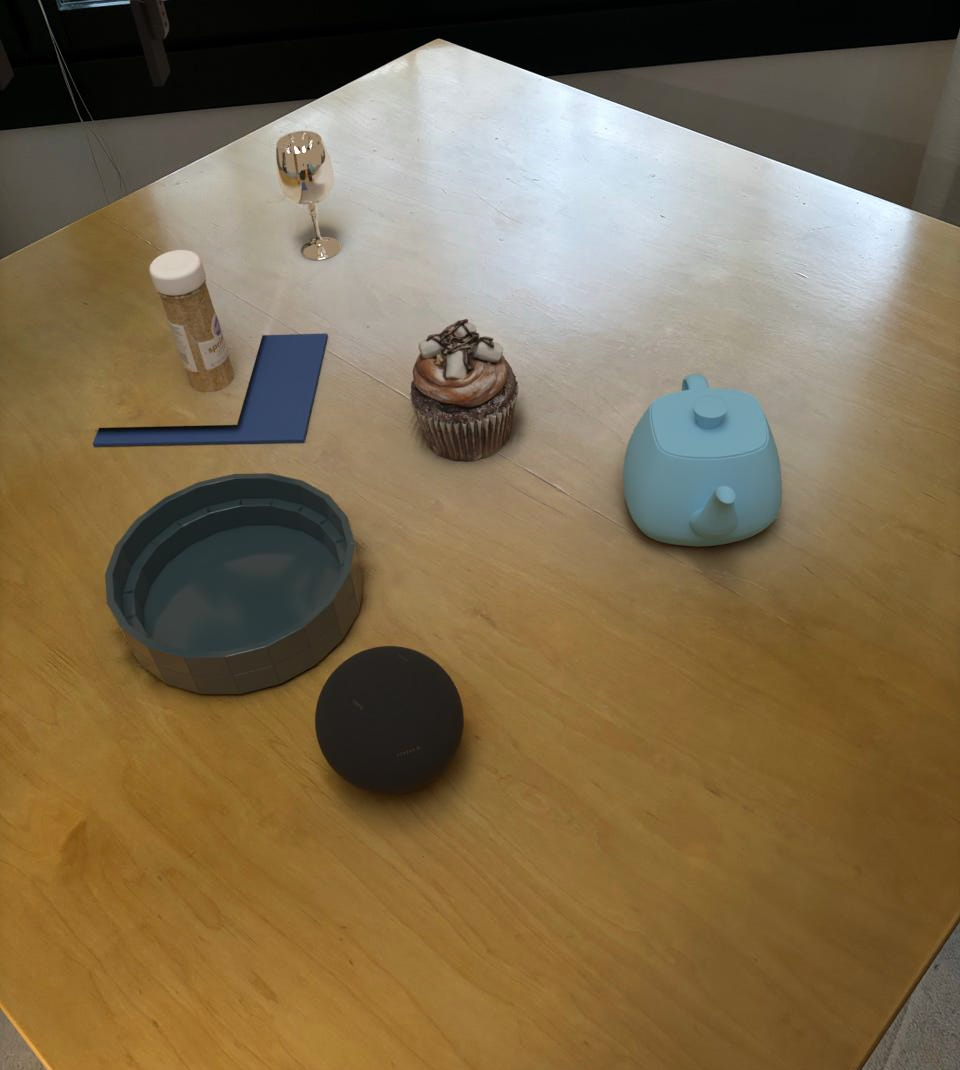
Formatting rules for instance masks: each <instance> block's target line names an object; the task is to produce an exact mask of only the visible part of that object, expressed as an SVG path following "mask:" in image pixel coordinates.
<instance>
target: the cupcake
mask: <svg viewBox="0 0 960 1070" xmlns="http://www.w3.org/2000/svg"><path fill="white" fill-rule="evenodd" d="M418 350H419V355H418V356H417V358H416V361H415V363H414V365H413V368H412V381H411V382H410V393H409V396H410V397H409V399H410V405H411V407H412V409H413V412H414V414H415V416H416V418H417V421H418V423H419V425H420V428H421V431H422V434H423V436H424V438H425V441H426V443H427V445H428V447H429V449H430V450H432V451H433V452H435V453H436V455H438V456H439V457H442V458H443V459H447V460H451V461H454V462H472V461H473V462H474V461H479V460H481V459H484V458H488V457H491V456H493V455H495V454H496V453H497V452H499V451H500V450H501V449H502V447H503V446H505V445H506V443H507V442H508V441H509V439H510V435H511V432H512V423H513V417H514V410H515V406H516V402H517V399H518V395H519V387H520V386H519V381H518V380H516V377H517V376H516V375H515V373H514V370H513V368H512V367H511V365H510V364H509V362H508V360H506V357H505V356H504V355H503V354H504V347H503V345H502V344H501V343H498V342H495V341H494V338H492V337H491V336H487V335H486V336H480V333H479V332H477V326H475V324H474V323H473V322H469V319H468V318H465V319H462V320H459V319H458V320H457V321H455V322H454V323H451V324H450V325H448V326H446V327H445V328H444V329H443V330H442V331H441V332H440V333H434V334H433V333H432V334H429V335H428V336H427V338H426V339H424V340H421V341H419V342H418Z"/></svg>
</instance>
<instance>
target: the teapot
mask: <svg viewBox="0 0 960 1070" xmlns="http://www.w3.org/2000/svg"><path fill="white" fill-rule="evenodd" d="M630 435H631V436H630V437H629V440H628V443H627V446H626V450H625V454H624V459H623V469H622V490H623V495H624V498H625V501H626V505H627V509H628V511H629V514H630V516H631V518H632V520H633V522H634V524H635V525H636V526H637V527H638V528H639V530H640V531H641V532H642V533H643V534H644V535H645V536H646V537H648V538H650V539H652V540H654V541H657V542H660V543H664V544H669V545H677V546H683V547H684V546H686V547H712V546H722V545H727V544H732V543H736V542H740V541H743V540H747V539H750V538H752V537H754V536H755V535H757V534H759V533H762V532H763V531H764V530H766V529H767V528H768V527H769V526H771V524H772V523H773V522H774V521H775V519H776V518H777V517H778V515H779V514H780V509H781V505H782V497H783V491H782V490H783V488H782V487H783V486H782V485H783V483H782V469H781V462H780V456H779V452H778V447H777V444H776V440H775V438H774V435H773V432H772V429H771V426H770V424H769V421H768V419H767V417H766V414H765V412H764V410H763V408H762V405H761V403H760V402H759V400H758V399H757V398H756V397H755V396H754V395H752V394H750V393H748V392H746V391H743V390H738V389H733V388H719V387H710V386H709V382H708V379H707V377H706V376H705V375H703V374H701V373H692V374H688V375H686V376H684V377H683V379H682V381H681V390H679V391H675V392H671V393H667V394H664V395H661V396H659V397H657V398H656V399H654V400H653V401H652V402H651V403H650V404H649V406H648V407H647V408H646V410H645V411H644V413H643V414H642V416H641V417H640V419H639V420H638V422H637V423H636V425H635V427H634V429H633V431H632V433H631V434H630Z"/></svg>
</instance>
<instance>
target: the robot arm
mask: <svg viewBox="0 0 960 1070" xmlns="http://www.w3.org/2000/svg"><path fill="white" fill-rule="evenodd" d="M129 5H130V8H131V12H132V15H133V18H134V22H135V26H136V29H137V33H138V36H139V40H140V43H141V47H142V50H143V54H144V59H145V61H146V65H147V68H148V72H149V75H150V79H151V82H152V85H153V87H154V88H162V87H164V85H165V84H166V81H167V79H168V77H169V75H170V73H171V68H170V64H169V61H168V56H167V53H166V49H165V45H164V42H163V40H165V39H166V37H167V36H168V34H169V31H170V21H169V19H168V18H169V17H168V15H167V11H166V7H165V3H164V0H129ZM14 76H15V72H14V71H13V68H12V66H11V63H10V61H9V57H8V55H7V52H6V50H5V47H4V45H3V42H2V40H1V38H0V91H4V90H5V89H6V87H7V86H8V84H9V83H10V82H11V80H12V79H13V78H14Z"/></svg>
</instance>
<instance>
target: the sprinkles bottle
mask: <svg viewBox="0 0 960 1070" xmlns="http://www.w3.org/2000/svg"><path fill="white" fill-rule="evenodd" d="M149 275H150V278H151V281H152V284H153V287H154V289H155V290H156V291H157V293H158V295H159V297H160V300H161V303H162V306H163V309H164V312H165V315H166V320H167V322H168V323H167V324H168V326H169V328H170V331H171V334H172V337H173V341H174V343H175V347H176V348H177V352H178V354H179V357H180V360H181V363H182V366H183V367H184V369H185V371H186V374H187V377H188V380H189V382H190V386H191V387H192V389H194V390H195V391H197V392H201V393H205V394H206V393H215V392H218V391H221V390H223V389H225V388H227V387H228V386H229V385H230V384H231V383H232V381H233V380H234V379H235V372H234V369H233V366H232V363H231V360H230V357H229V351H228V348H227V344H226V341H225V338H224V335H223V331H222V328H221V325H220V322H219V319H218V318H219V317H218V315H217V313H216V311H215V310H216V309H215V308H214V304H213V301H212V298H211V295H210V292H209V289H208V286H207V280H206V277H207V275H206V272H205V268H204V265H203V262H202V259H201V257H200V255H199V254H197V253H196V252H194V251H192V250H188V249H175V250H171V251H166V252H163V253H161V254H160V255H158V256H157V257H156V258H154V259H153V260H152V262H151V263H150V265H149Z"/></svg>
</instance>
